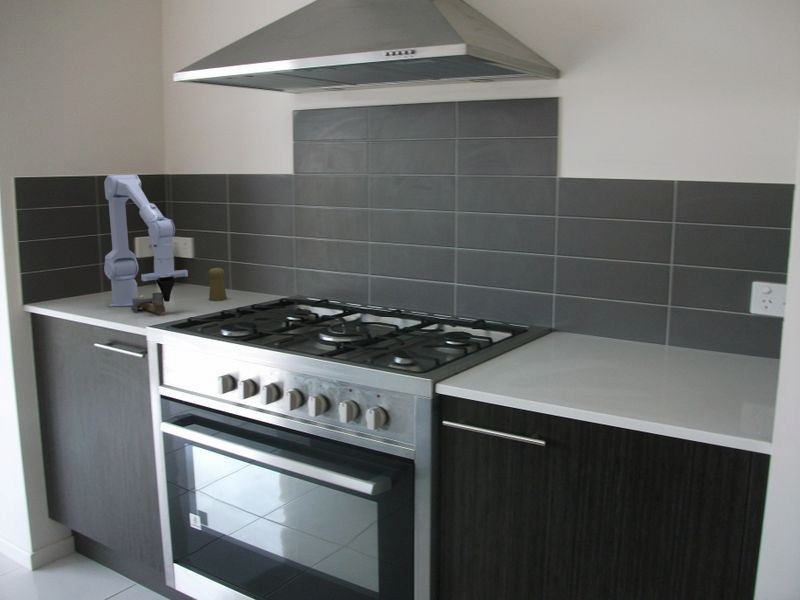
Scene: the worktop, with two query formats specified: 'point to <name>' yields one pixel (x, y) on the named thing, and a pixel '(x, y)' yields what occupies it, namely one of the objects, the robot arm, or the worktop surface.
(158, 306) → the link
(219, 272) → the cork
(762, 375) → the worktop surface
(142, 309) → the pintle base
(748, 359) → the worktop surface
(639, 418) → the worktop surface
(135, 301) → the keeper
